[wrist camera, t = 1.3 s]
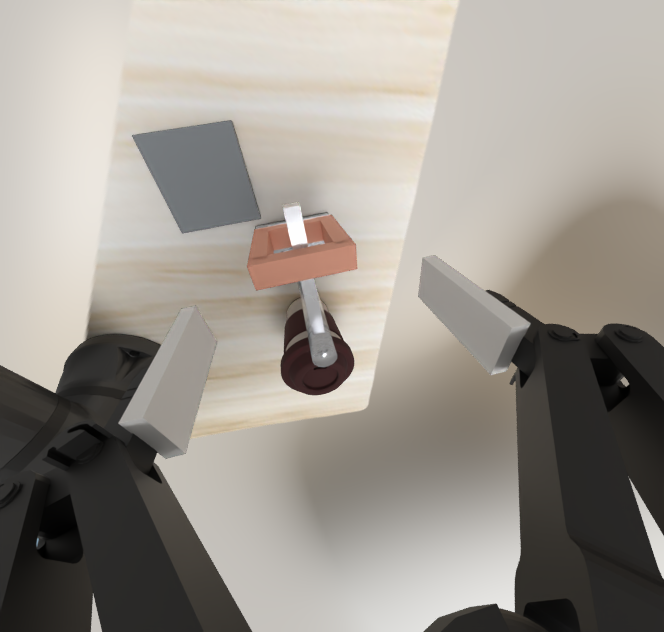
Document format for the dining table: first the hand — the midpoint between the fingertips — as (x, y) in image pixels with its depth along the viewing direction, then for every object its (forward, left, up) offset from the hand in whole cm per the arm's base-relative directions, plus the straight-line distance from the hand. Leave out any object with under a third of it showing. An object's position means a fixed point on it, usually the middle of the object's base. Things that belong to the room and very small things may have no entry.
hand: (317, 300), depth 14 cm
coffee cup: (-1, -17, -23) cm, 29 cm away
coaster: (-9, +5, -23) cm, 25 cm away
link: (0, 0, -14) cm, 14 cm away
